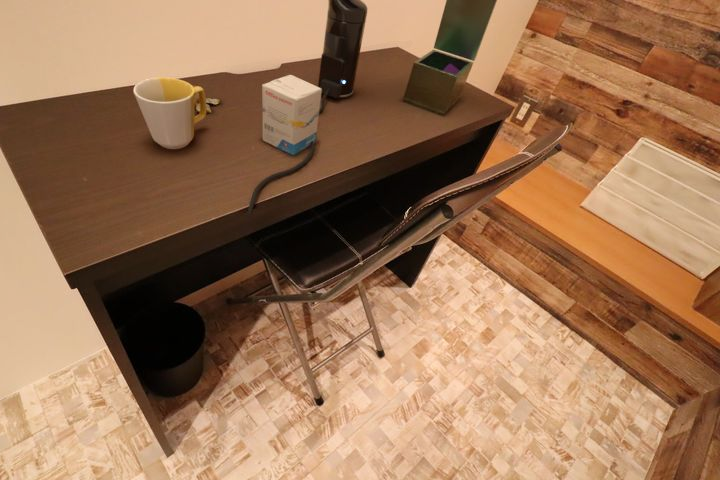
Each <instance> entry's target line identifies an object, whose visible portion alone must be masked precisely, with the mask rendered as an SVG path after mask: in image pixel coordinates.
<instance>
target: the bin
mask: <svg viewBox="0 0 720 480" xmlns="http://www.w3.org/2000/svg"><path fill="white" fill-rule="evenodd" d="M450 63H451V64H452V65H453V66H454V67H456V68H457V69H458V70H459V72H458V73H457V74H456V75H454V74H451V73H448V72H445V71H443V70H444V69H445V68H446V67H447V66H448V65H449V64H450ZM473 65H474V61H471V60H469V59H465V58H462V57H459V56H456V55H453V54H450V53H447V52H444V51H441V50H437V49H432V50H430V51H429V52H427V53H426V54H425V55H423V56H422V57H421V56H420V57H419V58H418V59H416V60H415V61H414V62H413V64H412V67H411V71H410V73H409V74H410V75H409V78H408V80H407V81H408V82H407V85H406V89H405V92H404V94H403V95H404V96H403V99H402V102H404V103H408V104H410V105H413V106H416V107H418V108H421V109H423V110H426V111H429V112H432V113H433V114H434V113H435V114H437V115H440V116H445V114H446V113H447V112H448V111H449V110H451V108H452V107H453V106H454V105H455V104H456V103H457V102H458V101H459V100H460V98H461V96H462V92H463V90H464V88H465V85H466V83H467V80H468V77H469V75H470V72H471V70H472V68H473Z"/></svg>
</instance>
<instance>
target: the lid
mask: <svg viewBox="0 0 720 480" xmlns="http://www.w3.org/2000/svg"><path fill="white" fill-rule="evenodd" d="M497 2H498V0H445V4H444V8H443V12H442V14H441V15H442V16H441V19H440V23H439V27H438V29H437V34H436V37H435V40H434V41H435V42H434V45H433V49H434V50H437V51H440V52H443V53H446V54H449V55H452V56H455V57H459V58H462V59H465V60H468V61H471V62H475V61H476V59H477V56H478V53H479V50H480V47H481V44H482V43H483V39H484V36H485V34H486V31H487V29H488V26H489V23H490V22H491V21H490V20H491V17H492V15H493V13H494V10H495V8H496V4H497Z"/></svg>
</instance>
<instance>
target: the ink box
mask: <svg viewBox="0 0 720 480" xmlns="http://www.w3.org/2000/svg"><path fill="white" fill-rule="evenodd" d="M321 92H322V89H321V88H319V87H318V85H314V84H312V83H310V82H308V81H306V80H304V79H301V78H299V77H297V76H295V75H292V74H287V75H285V76H282V77H278V78H276V79H272V80H271V81H269V82H265V83H263V84H261V100H262V101H261V102H262V103H261V107H262V112H261V113H262V141H263V142H265V143H267V144H269V145H271V146H273V147H275V148H277V149H279V150H281V151H283V152H285V153H287V154H289V155H291V156H295V155H297V154H298V153H300V152H302V151H303V150H305V149H307V148H309V147H311V145H310V143H311V142H312V141H313V142H314V144H315V143H316V142H317V133H318V126H319V125H318V124H319V116H320V113H319V109H320V108H321V102H322V94H321Z"/></svg>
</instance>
